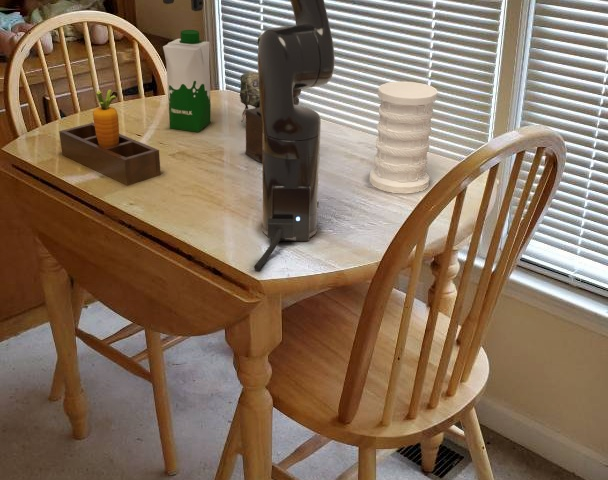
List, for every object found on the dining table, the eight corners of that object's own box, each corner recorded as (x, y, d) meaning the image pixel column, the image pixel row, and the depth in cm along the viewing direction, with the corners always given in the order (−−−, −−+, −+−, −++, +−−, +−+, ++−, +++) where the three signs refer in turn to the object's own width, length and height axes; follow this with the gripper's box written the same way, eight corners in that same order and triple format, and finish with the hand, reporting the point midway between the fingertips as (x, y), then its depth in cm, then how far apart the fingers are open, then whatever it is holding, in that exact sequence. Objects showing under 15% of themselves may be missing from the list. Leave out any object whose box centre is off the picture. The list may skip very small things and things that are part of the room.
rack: (127, 185, 152) (124, 160, 150) (62, 154, 165) (58, 131, 162) (160, 174, 157) (159, 150, 155) (95, 145, 170) (92, 122, 167)
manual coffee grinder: (241, 154, 168) (240, 66, 158) (283, 144, 174) (285, 59, 164) (286, 177, 158) (288, 85, 148) (330, 166, 164) (334, 76, 154)
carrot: (116, 158, 164) (108, 84, 156) (127, 165, 161) (120, 90, 153) (93, 163, 161) (84, 88, 153) (105, 171, 158) (96, 94, 150)
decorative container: (438, 179, 159) (449, 87, 150) (414, 198, 151) (424, 102, 141) (385, 166, 164) (392, 77, 155) (359, 184, 156) (365, 91, 146)
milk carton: (215, 122, 185) (213, 31, 174) (200, 134, 178) (196, 40, 167) (180, 117, 187) (175, 27, 176) (163, 129, 180) (157, 36, 169)
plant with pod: (231, 123, 185) (229, 32, 174) (275, 117, 189) (276, 28, 179) (246, 134, 179) (245, 40, 168) (291, 127, 183) (293, 36, 173)
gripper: (137, -90, 149) (144, 3, 157) (187, -83, 141) (191, 15, 149) (169, -92, 153) (174, -1, 162) (219, -85, 145) (222, 10, 154)
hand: (182, 6), depth 156 cm, fingers open, 8 cm apart
